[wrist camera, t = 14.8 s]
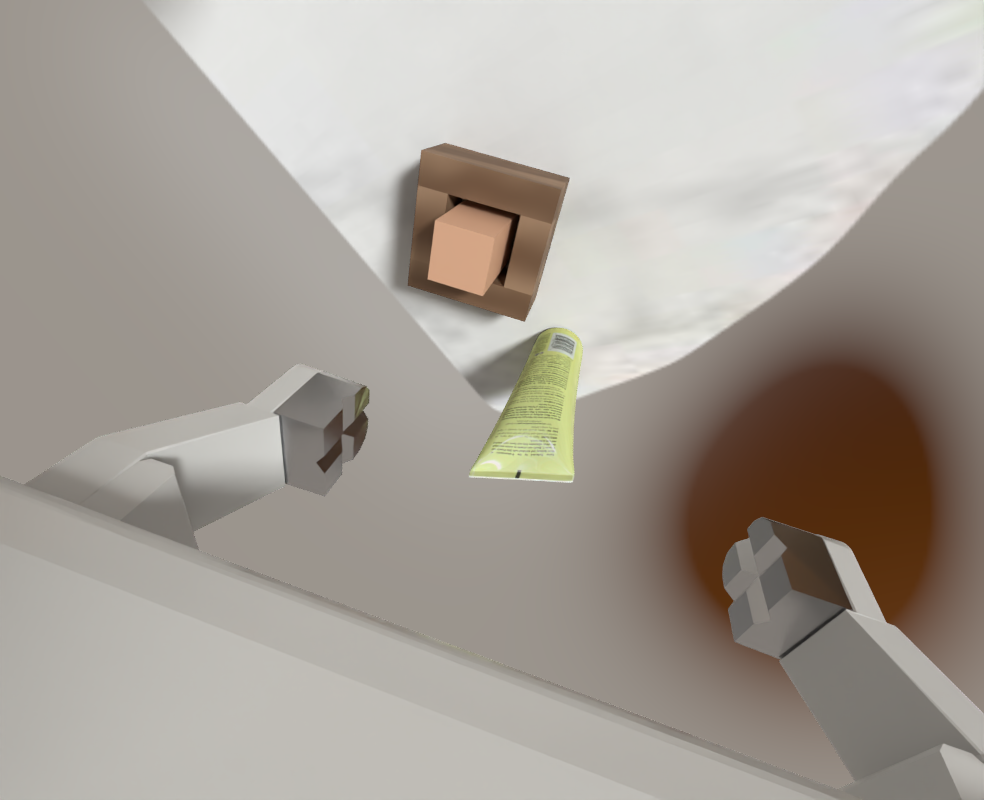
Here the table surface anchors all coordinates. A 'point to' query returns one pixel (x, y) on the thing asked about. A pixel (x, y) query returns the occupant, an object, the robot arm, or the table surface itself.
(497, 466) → the tube
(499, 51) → the table surface
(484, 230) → the peg
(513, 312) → the socket block
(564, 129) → the table surface
